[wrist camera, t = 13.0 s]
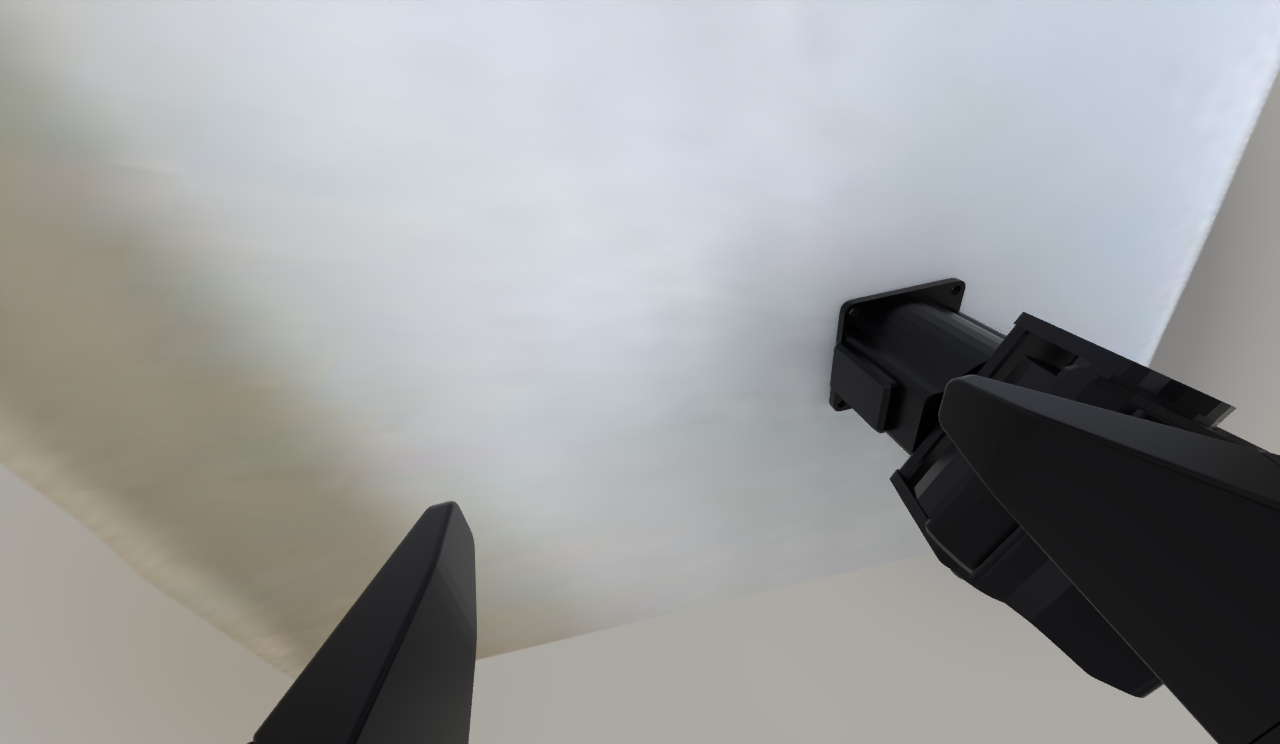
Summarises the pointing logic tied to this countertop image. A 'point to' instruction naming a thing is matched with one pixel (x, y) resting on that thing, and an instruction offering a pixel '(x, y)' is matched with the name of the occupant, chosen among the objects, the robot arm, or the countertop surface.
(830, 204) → the countertop surface
